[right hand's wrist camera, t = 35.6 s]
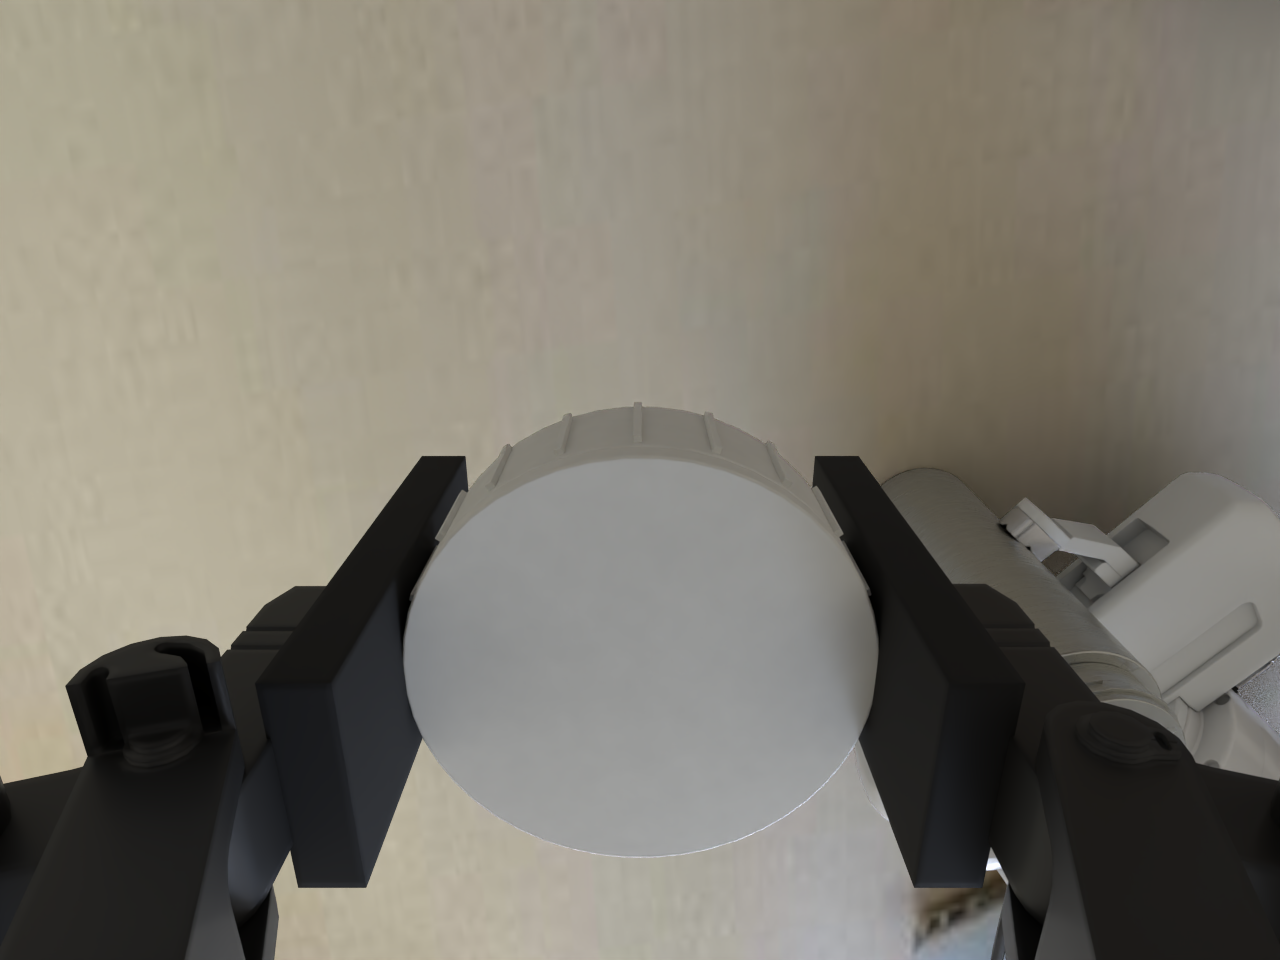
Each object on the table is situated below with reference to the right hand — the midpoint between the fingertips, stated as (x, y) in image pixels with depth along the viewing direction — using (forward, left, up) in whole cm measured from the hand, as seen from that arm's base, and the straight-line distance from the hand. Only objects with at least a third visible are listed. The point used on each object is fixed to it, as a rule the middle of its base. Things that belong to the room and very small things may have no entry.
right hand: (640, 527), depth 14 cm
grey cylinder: (+8, +15, -23) cm, 28 cm away
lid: (0, 0, +4) cm, 4 cm away
